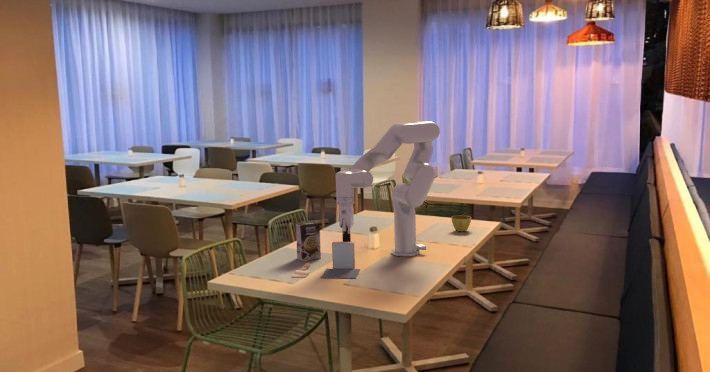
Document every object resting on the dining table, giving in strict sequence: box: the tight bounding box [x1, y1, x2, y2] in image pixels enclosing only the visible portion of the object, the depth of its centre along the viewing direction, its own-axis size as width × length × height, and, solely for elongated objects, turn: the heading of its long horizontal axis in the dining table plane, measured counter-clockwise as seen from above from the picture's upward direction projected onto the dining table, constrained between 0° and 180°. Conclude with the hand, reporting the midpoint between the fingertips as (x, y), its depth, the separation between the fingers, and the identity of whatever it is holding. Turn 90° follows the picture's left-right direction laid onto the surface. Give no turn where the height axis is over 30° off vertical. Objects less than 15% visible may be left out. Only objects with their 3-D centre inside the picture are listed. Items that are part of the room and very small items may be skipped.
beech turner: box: [291, 262, 311, 279], centre depth 246 cm, size 17×6×1 cm, turn 172°
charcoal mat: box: [320, 268, 361, 280], centre depth 241 cm, size 14×12×1 cm
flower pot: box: [451, 214, 472, 232], centre depth 307 cm, size 10×10×7 cm
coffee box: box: [295, 220, 322, 262], centre depth 264 cm, size 9×6×16 cm
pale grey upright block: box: [331, 241, 356, 269], centre depth 248 cm, size 9×2×11 cm, turn 82°
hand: (346, 242), depth 256 cm, fingers closed
